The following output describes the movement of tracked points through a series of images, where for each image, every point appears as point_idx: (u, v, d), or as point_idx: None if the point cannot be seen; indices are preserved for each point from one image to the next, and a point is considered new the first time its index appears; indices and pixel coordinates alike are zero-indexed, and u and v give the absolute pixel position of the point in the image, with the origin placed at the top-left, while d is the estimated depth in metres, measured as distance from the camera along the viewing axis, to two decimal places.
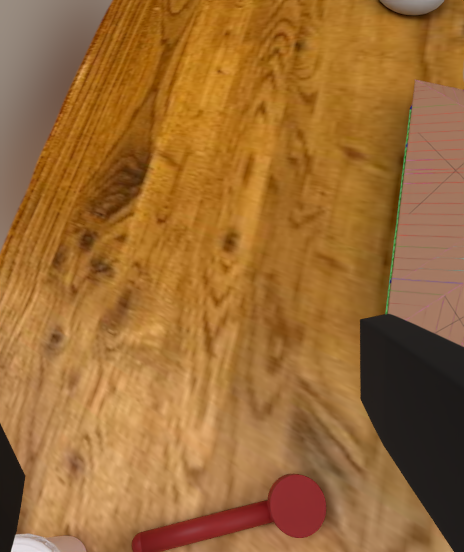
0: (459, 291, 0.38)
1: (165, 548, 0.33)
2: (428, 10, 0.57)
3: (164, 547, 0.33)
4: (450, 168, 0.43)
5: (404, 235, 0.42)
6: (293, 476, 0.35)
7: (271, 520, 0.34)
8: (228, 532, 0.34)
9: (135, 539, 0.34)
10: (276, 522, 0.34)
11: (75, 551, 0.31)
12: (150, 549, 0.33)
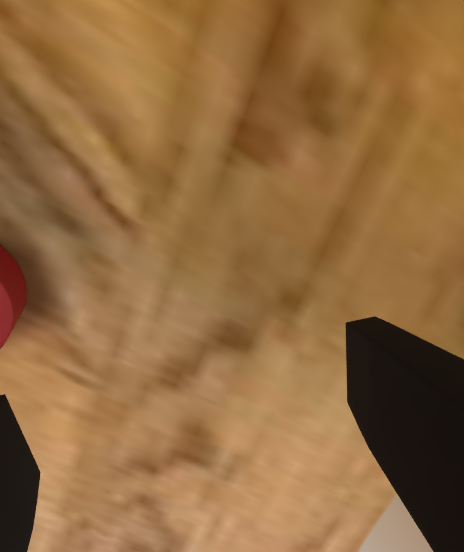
0: None
1: None
2: None
3: None
4: None
5: None
6: None
7: None
8: None
9: None
10: None
11: None
12: None
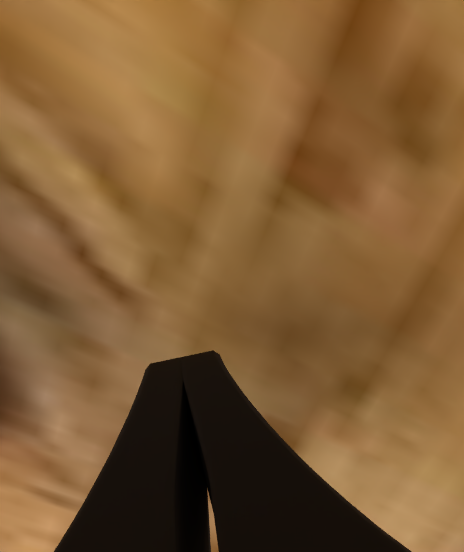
0: None
1: None
2: None
3: None
4: None
5: None
6: None
7: None
8: None
9: None
10: None
11: None
12: None
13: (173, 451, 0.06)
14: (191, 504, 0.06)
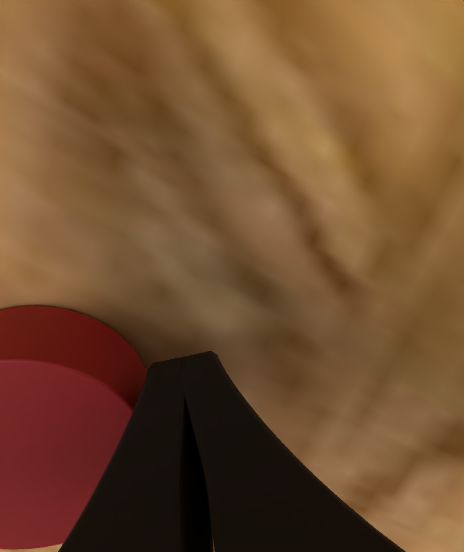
0: None
1: None
2: None
3: None
4: None
5: None
6: None
7: None
8: None
9: None
10: None
11: None
12: None
13: (177, 450, 0.06)
14: (195, 503, 0.06)
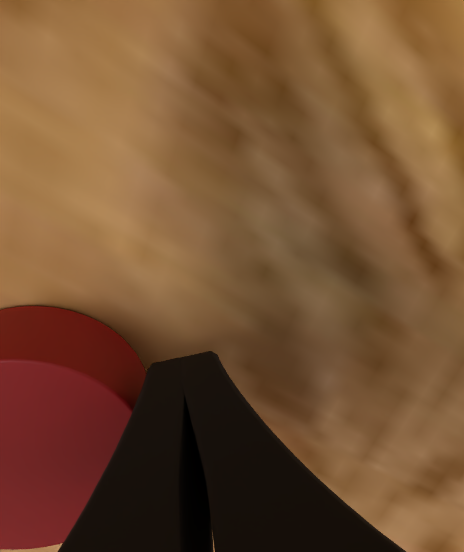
0: None
1: None
2: None
3: None
4: None
5: None
6: None
7: None
8: None
9: None
10: None
11: None
12: None
13: (176, 450, 0.06)
14: (194, 503, 0.06)
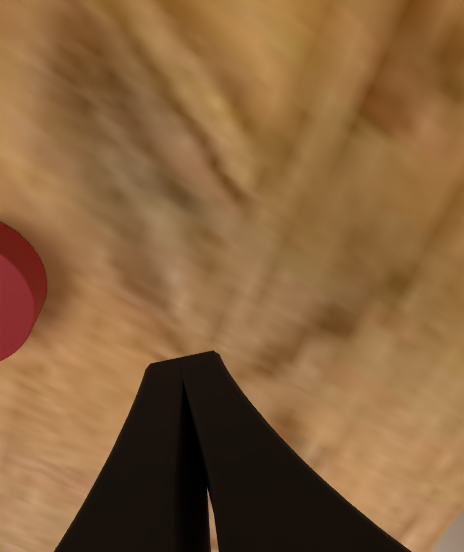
0: None
1: None
2: None
3: None
4: None
5: None
6: None
7: None
8: None
9: None
10: None
11: None
12: None
13: (173, 451, 0.06)
14: (191, 504, 0.06)
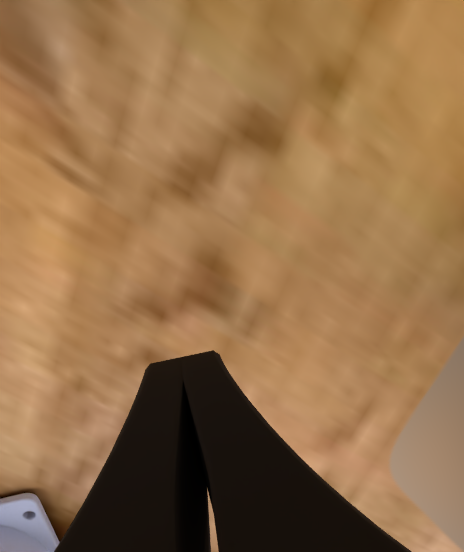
0: None
1: None
2: None
3: None
4: None
5: None
6: None
7: None
8: None
9: None
10: None
11: None
12: None
13: (173, 451, 0.06)
14: (191, 504, 0.06)
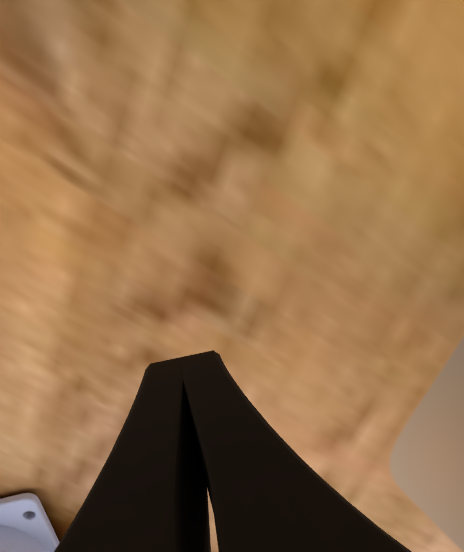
0: None
1: None
2: None
3: None
4: None
5: None
6: None
7: None
8: None
9: None
10: None
11: None
12: None
13: (173, 451, 0.06)
14: (191, 504, 0.06)
